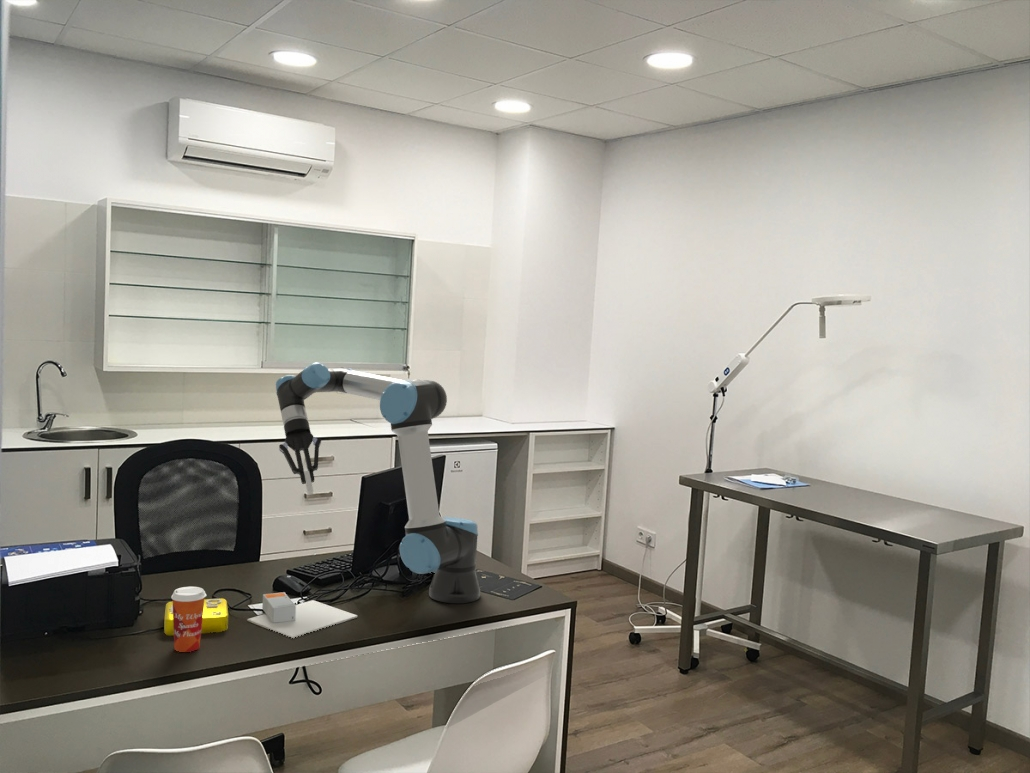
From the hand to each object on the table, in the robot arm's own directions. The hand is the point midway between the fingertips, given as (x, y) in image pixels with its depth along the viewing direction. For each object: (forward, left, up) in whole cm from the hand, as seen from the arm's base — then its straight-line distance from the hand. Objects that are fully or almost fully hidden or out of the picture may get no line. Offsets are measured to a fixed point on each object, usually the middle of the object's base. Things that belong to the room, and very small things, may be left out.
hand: (310, 492), depth 253 cm
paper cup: (-19, +52, -28) cm, 62 cm away
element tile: (-6, +41, -29) cm, 51 cm away
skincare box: (-11, +21, -25) cm, 35 cm away
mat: (-23, +20, -28) cm, 41 cm away
